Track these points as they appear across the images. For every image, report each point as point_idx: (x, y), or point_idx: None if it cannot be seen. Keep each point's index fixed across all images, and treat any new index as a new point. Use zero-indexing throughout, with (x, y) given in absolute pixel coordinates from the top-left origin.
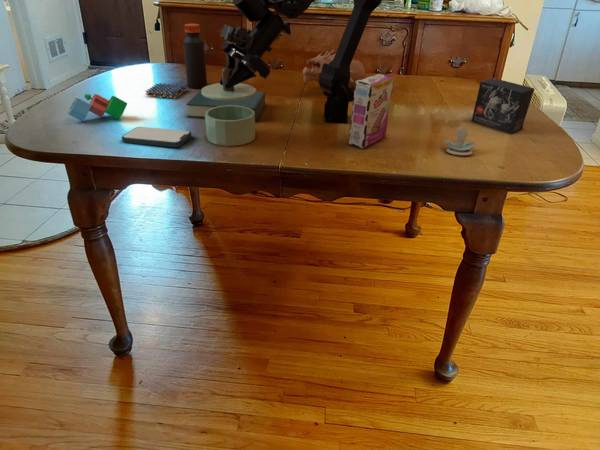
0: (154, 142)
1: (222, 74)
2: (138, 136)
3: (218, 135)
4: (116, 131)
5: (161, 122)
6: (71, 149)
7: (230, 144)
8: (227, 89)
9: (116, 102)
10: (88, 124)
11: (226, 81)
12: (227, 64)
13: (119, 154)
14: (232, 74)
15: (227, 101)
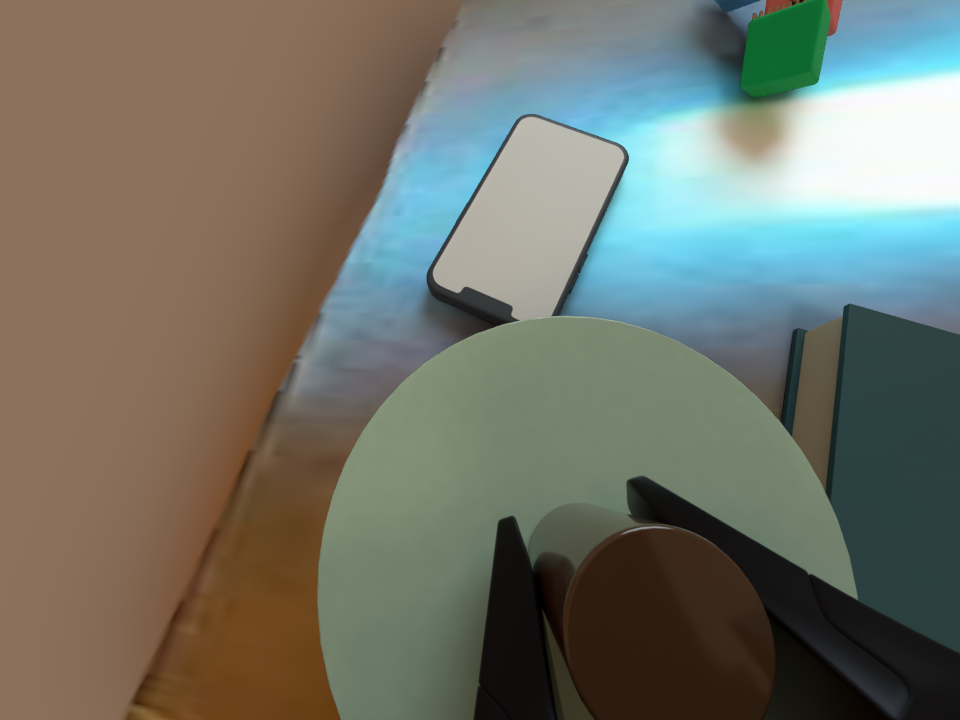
0: (463, 210)
1: (605, 521)
2: (519, 157)
3: None
4: (625, 104)
5: (721, 231)
6: (484, 22)
7: None
8: (532, 546)
9: (788, 29)
10: (695, 29)
11: (521, 555)
12: (933, 684)
13: (420, 130)
14: (489, 694)
15: (935, 544)
